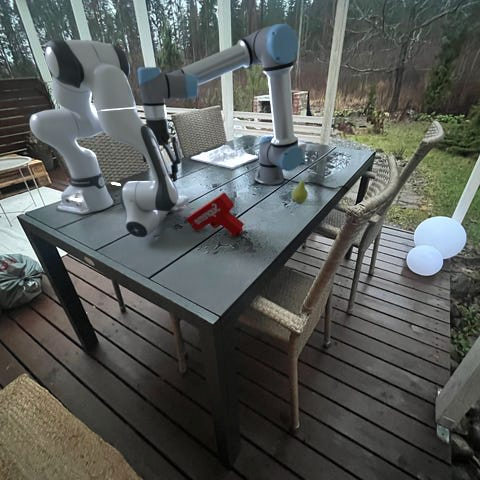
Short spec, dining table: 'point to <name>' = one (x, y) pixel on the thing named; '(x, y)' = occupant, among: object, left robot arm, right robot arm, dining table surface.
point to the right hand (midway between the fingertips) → (165, 180)
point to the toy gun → (216, 216)
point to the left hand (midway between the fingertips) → (169, 194)
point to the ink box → (303, 147)
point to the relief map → (226, 157)
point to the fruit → (300, 192)
